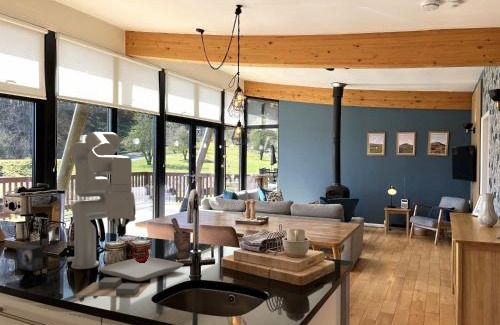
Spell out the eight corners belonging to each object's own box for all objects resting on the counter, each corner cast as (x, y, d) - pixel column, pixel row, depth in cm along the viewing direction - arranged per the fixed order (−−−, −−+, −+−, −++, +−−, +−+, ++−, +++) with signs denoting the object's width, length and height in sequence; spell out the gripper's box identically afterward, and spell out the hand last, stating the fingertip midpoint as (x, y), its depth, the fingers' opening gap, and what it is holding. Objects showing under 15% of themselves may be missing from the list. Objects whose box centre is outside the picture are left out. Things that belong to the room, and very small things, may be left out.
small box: (15, 269, 194) (15, 246, 194) (27, 265, 200) (27, 244, 200) (32, 271, 190) (31, 248, 190) (43, 268, 196) (43, 245, 196)
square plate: (185, 271, 190) (185, 262, 190) (138, 286, 167) (137, 277, 167) (144, 262, 205) (144, 254, 205) (96, 275, 183) (96, 267, 182)
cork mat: (75, 296, 156) (75, 295, 156) (93, 283, 172) (93, 282, 172) (137, 298, 154) (137, 296, 154) (150, 284, 170) (150, 283, 170)
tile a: (98, 281, 164) (115, 282, 164) (104, 277, 170) (121, 277, 170) (98, 288, 164) (115, 288, 164) (104, 283, 170) (121, 283, 170)
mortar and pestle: (165, 258, 214) (165, 219, 214) (173, 254, 222) (173, 217, 222) (186, 259, 211) (186, 220, 210) (193, 255, 219) (193, 218, 219)
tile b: (116, 288, 156) (134, 288, 156) (121, 283, 162) (139, 283, 162) (116, 294, 156) (134, 295, 156) (121, 289, 162) (139, 290, 162)
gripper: (98, 189, 157) (98, 237, 157) (137, 189, 156) (137, 238, 156) (106, 187, 164) (106, 233, 165) (143, 187, 163) (143, 234, 164)
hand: (121, 235), depth 161 cm, fingers closed
